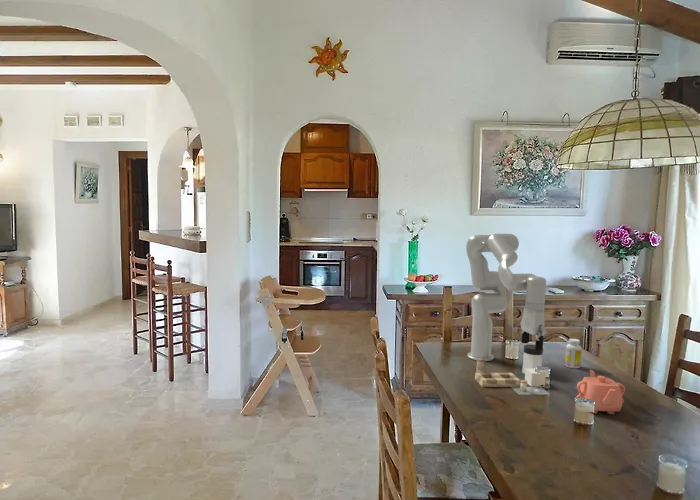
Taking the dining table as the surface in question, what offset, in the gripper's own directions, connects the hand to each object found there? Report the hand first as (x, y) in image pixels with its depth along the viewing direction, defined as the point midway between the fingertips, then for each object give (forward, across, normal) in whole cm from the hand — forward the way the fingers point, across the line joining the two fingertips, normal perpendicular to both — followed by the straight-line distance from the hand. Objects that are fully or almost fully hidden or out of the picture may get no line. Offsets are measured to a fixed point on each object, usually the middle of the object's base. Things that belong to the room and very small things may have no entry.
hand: (531, 346), depth 214 cm
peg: (+16, -10, -18) cm, 26 cm away
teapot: (+16, +29, +10) cm, 35 cm away
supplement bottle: (+16, -16, +34) cm, 41 cm away
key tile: (+16, +8, -5) cm, 19 cm away
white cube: (+16, +2, +2) cm, 16 cm away
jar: (+16, -12, +9) cm, 22 cm away
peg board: (+16, -2, -14) cm, 21 cm away
